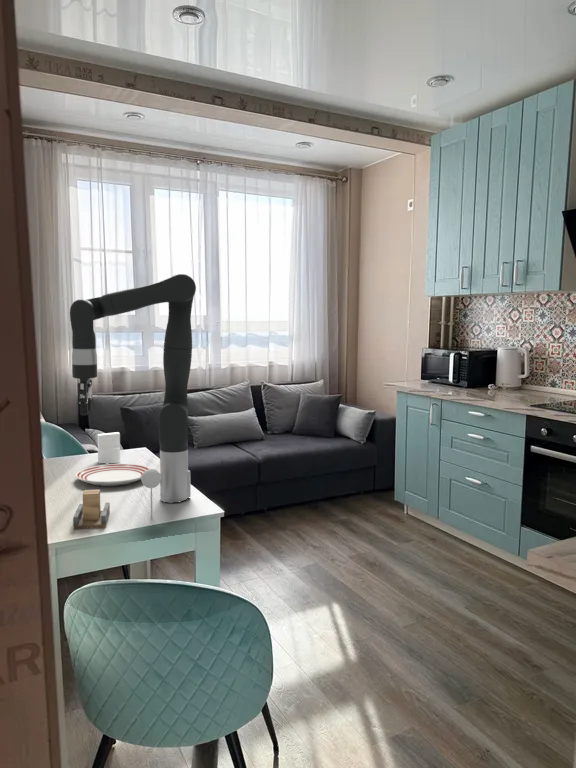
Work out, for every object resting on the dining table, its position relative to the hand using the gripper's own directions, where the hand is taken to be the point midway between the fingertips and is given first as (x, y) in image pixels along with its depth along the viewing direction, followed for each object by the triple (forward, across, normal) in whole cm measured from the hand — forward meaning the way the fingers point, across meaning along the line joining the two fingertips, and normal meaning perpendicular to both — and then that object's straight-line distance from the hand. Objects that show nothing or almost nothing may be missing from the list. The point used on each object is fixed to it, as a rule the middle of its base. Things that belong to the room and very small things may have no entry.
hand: (85, 413), depth 179 cm
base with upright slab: (+30, +55, -2) cm, 63 cm away
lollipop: (+30, -16, -21) cm, 40 cm away
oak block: (+29, -17, -3) cm, 34 cm away
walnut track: (+30, -17, -3) cm, 35 cm away
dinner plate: (+30, +28, -6) cm, 42 cm away
